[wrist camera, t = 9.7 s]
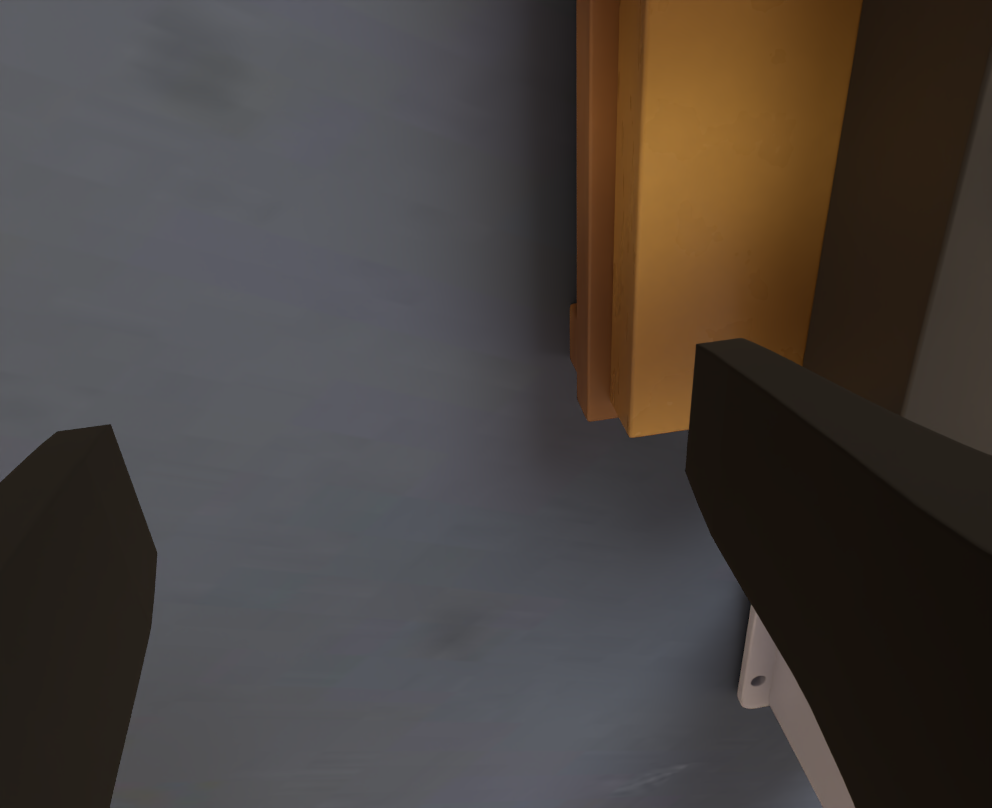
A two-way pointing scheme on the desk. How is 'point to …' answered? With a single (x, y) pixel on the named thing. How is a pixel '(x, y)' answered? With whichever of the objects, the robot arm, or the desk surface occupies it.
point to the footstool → (699, 188)
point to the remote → (913, 221)
